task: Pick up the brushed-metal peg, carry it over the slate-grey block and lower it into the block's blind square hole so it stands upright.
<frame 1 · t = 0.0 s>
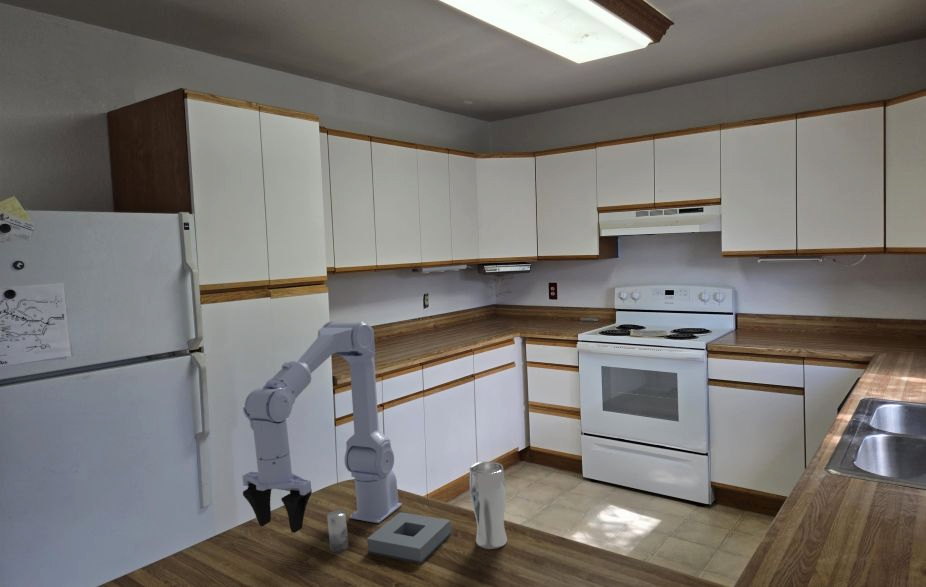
hand: (280, 526, 113), 10 cm above the countertop, tool pointing down, fingers open, 7 cm apart
peg: (339, 547, 125), on the countertop
hole block: (410, 543, 124), on the countertop
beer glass: (491, 542, 123), on the countertop
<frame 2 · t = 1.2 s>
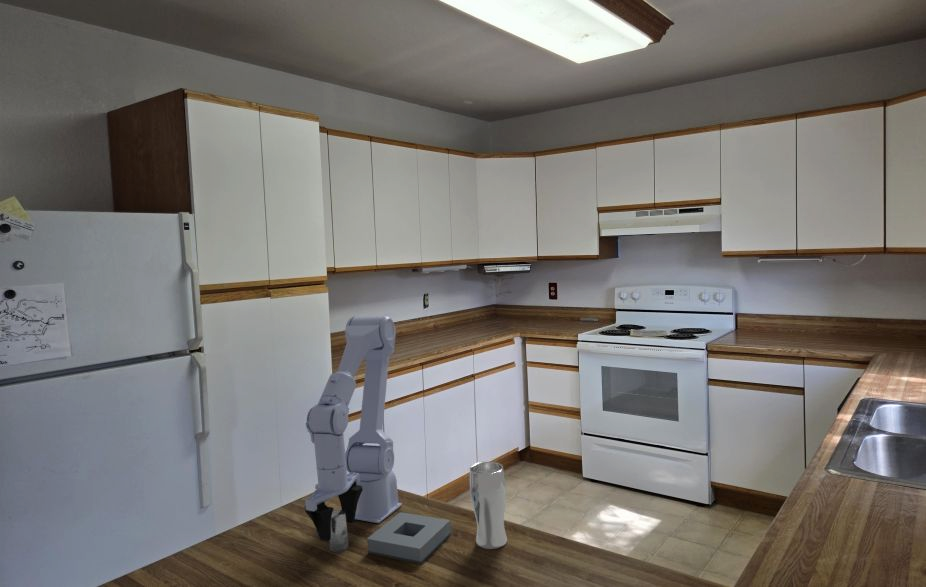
hand: (337, 530, 124), 4 cm above the countertop, tool pointing down, fingers open, 7 cm apart
nothing on the countertop moved.
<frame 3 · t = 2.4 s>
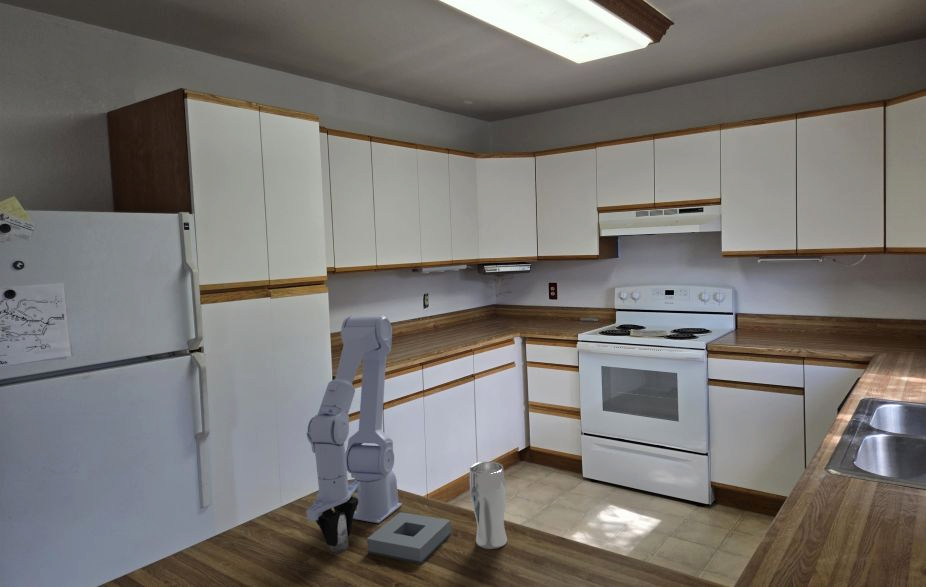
hand: (338, 539, 125), 2 cm above the countertop, tool pointing down, fingers closed on peg, 4 cm apart
peg: (339, 547, 125), on the countertop, touching gripper
everything else where it was.
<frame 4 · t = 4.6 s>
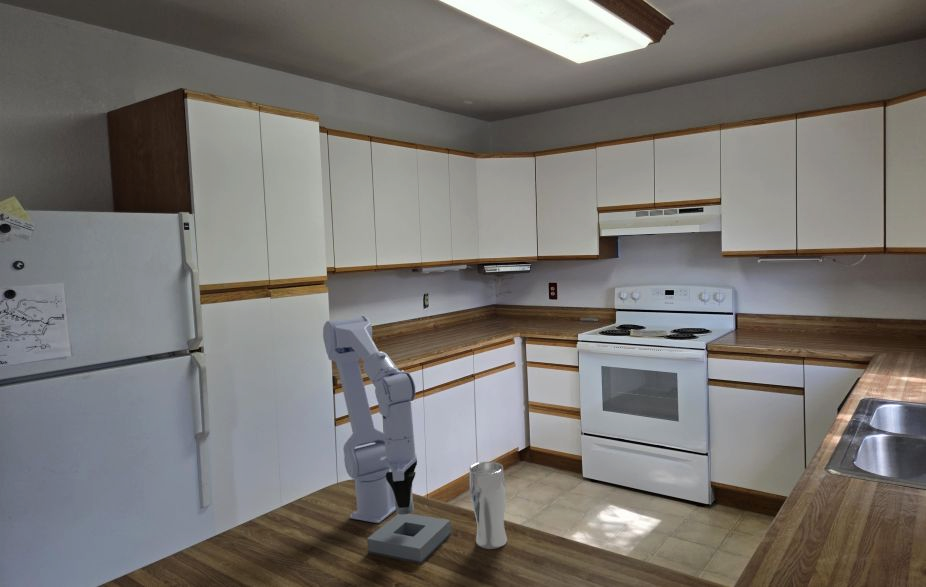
hand: (404, 502, 123), 9 cm above the countertop, tool pointing down, fingers closed on peg, 4 cm apart
peg: (405, 510, 123), point 7 cm above the countertop, touching gripper
everything else where it was.
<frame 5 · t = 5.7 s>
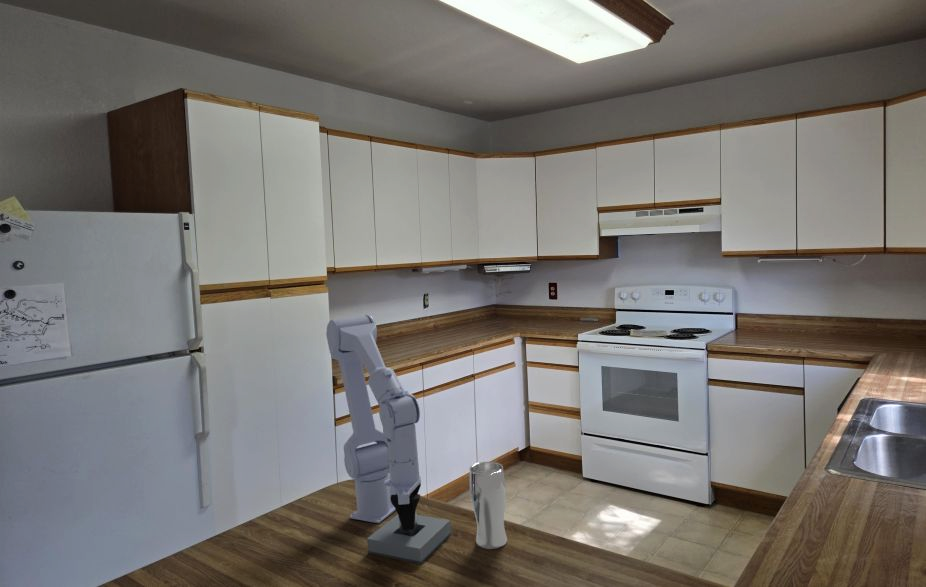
hand: (409, 524, 124), 4 cm above the countertop, tool pointing down, fingers closed on peg, 4 cm apart
peg: (409, 532, 124), point 2 cm above the countertop, touching gripper
everything else where it was.
when the fingers open (4 cm above the countertop, at t = 6.6 s): peg drops 1 cm, resting on hole block.
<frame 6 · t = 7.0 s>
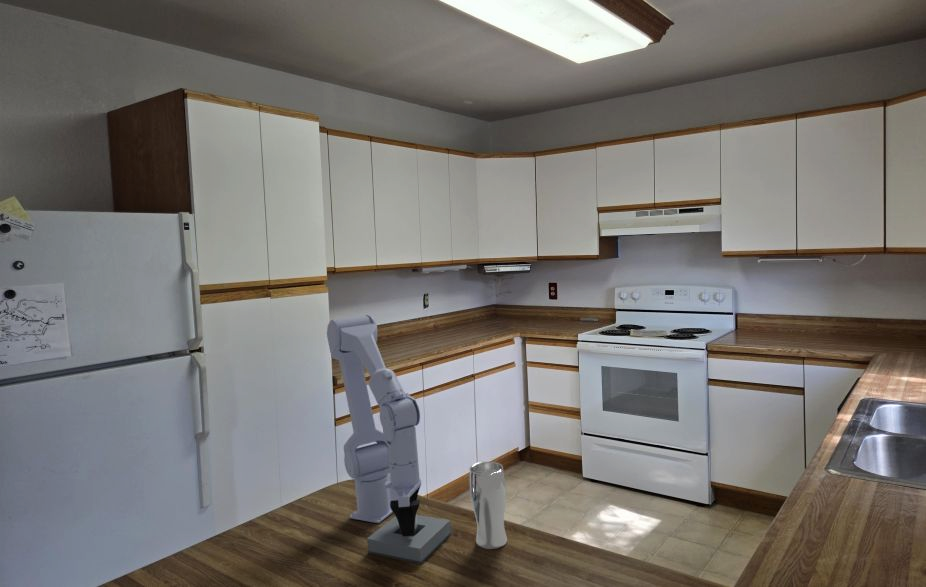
hand: (409, 526, 124), 4 cm above the countertop, tool pointing down, fingers open, 7 cm apart
peg: (410, 541, 124), point 1 cm above the countertop, touching hole block
everything else where it was.
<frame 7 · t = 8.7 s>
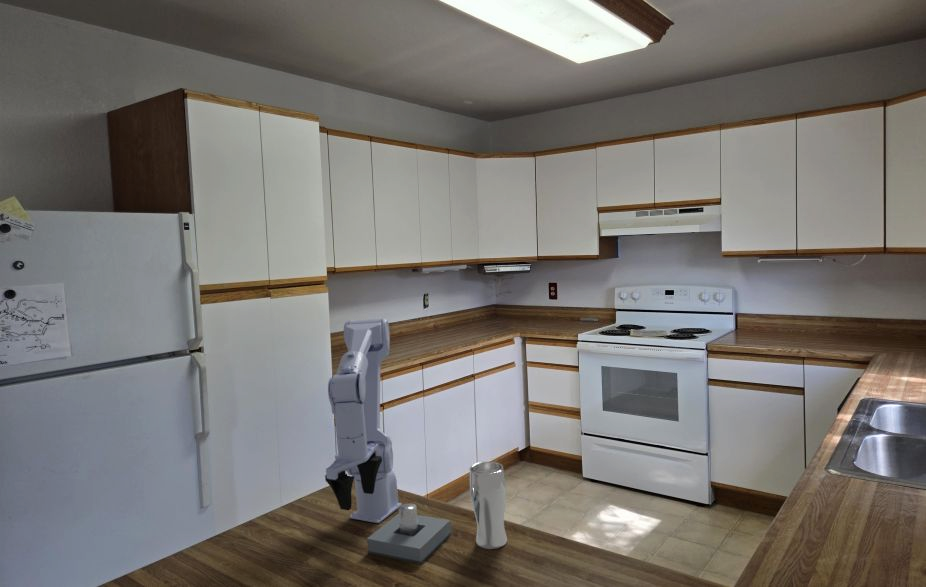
hand: (357, 500, 124), 9 cm above the countertop, tool pointing down, fingers open, 7 cm apart
nothing on the countertop moved.
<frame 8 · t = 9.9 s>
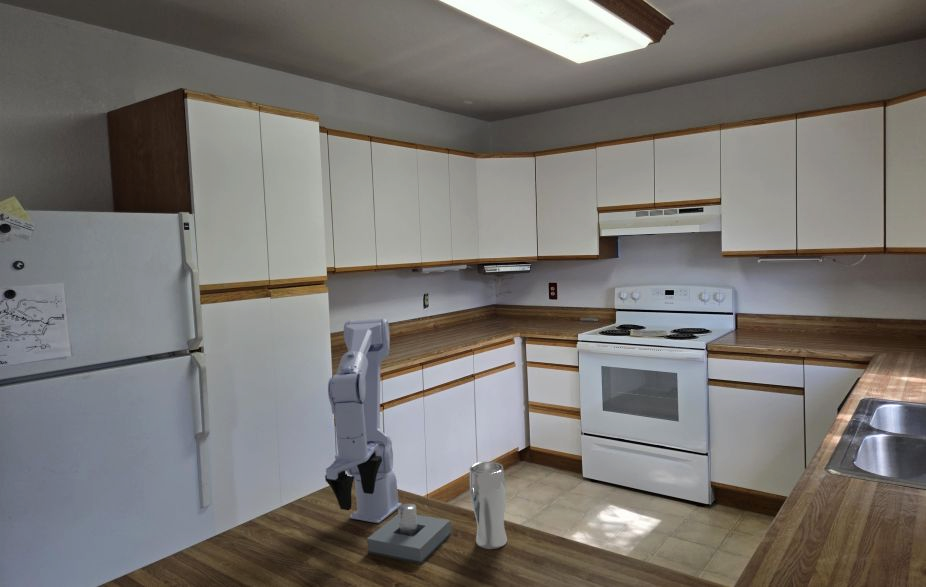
hand: (357, 500, 124), 9 cm above the countertop, tool pointing down, fingers open, 7 cm apart
nothing on the countertop moved.
at the end: peg 0.1 cm off-centre on the hole block, point 0.5 cm above the hole block's base; peg tilted 1°; the gripper is holding nothing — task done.
